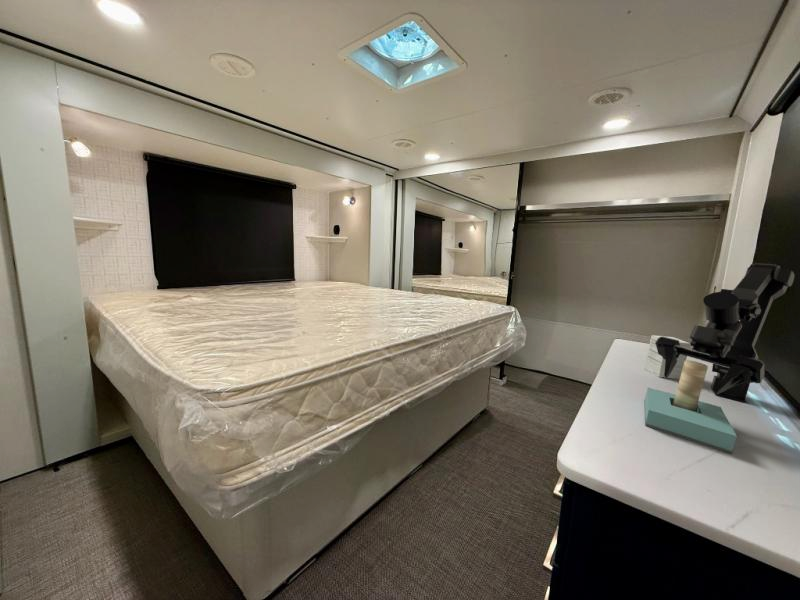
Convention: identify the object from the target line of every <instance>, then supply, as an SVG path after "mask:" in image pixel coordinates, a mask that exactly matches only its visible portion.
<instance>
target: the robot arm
mask: <svg viewBox="0 0 800 600" xmlns="http://www.w3.org/2000/svg"><path fill="white" fill-rule="evenodd" d="M794 280H795V273H794V271H793V270H790V269H787V268H785V267H781V266H780V265H777V264H773V263H760V262H759V263H757V262H755V263H751V264H750V265H749V266H748V267H747V270H746V272H745V275H744V276H743V277H742V279H741V280H740V281H739V283H738V284H737V285H736V286H735V287H734V289H727V288H725V289H724V288H721V290H720V291H715V292H712V293H709V294H707V295H706V296H704V297H703V300H702V301H703V308H704V314H705V319H706V320H707V321H708V322H707V323H706V325H705V326H704V325H703V326H702V325H696V324H695V325H694V326H693V328H692V330H691V333H690V335H689V338H690V339H691V341H690V342H689V343H690V346H691V347H692V348H690V347H689V348H686V347H682V346H680V344H679V340H675V339H671V338H667V337H668V336H667V337H660V338H658V339H657V341H656V342H655V344H656V347H657V351H658V354H659V355H661V356H662V357H663V359H665V372H664V376H665V377H666V379H668V378H667V377H668V376H669V375H670V373H671V372H672V370H673V368H674V366H675V365H676V363H677V359H676V358H678V357H679V356H680V354H681V355H685V356H687V357H689V358H692V359H695V360H700V361H702V362H706V363H710V364H712V367H711V368H712V370H711V372H713V373H716V375H714V376H713V378H712V382H711V385H710V389H711V390H712V392H713V394H714V395H715V396H718V397H723V398H726V399H731V400H735V401H737V402H742V403H748V400H747V399H746V398H747V394H748V392H749V387H750V385H751V384H753V383H754V384H762V381H763V379H764V377H765V366H766V365H765V363H764V361H763V360H761V359H759V356H758V354H757V350H756V349H755V346H756V343H757V341H758V339H759V335H760V333H761V330H762V328H763V326H764V323H765V321H766V318H767V316H768V314H769V311H770V309H771V306H772V303H773V301H774V300H776V299H777V298H779V297H782V296H783V295H785V293H786V292H787V289H788V287H792V285H793V283H794ZM706 320H705V321H706Z"/></svg>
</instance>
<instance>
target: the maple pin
mask: <svg viewBox="0 0 800 600" xmlns="http://www.w3.org/2000/svg"><path fill="white" fill-rule="evenodd" d="M708 367H709V366H708V365H706V364H704V363H702V362H699V361H694V360H686V361H684V365H683V369H682V373H681V377H680V379H679V380H678V381H679V382H678V385H677V387H676V388H677V389H676V391H675V395H676V396H675V400H674V403H673V406H676V407H680V408H683V409H687V410H690V411H694V412H695V411H696V408H697V404H698V401H700V397H701V394H702V393H701V392H702V389H703V387H704V382H705V378H706V374H707V371H708V369H709V368H708Z"/></svg>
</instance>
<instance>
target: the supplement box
mask: <svg viewBox="0 0 800 600" xmlns="http://www.w3.org/2000/svg"><path fill="white" fill-rule="evenodd" d="M650 337H651V338H650V341H649V346H648V349H647V354H646V357H645V363H644V367H643V368H644V370H645V369H646V370H645V371H647V370H648V371H647V372H649V371H650V372H651V373H650V372H649V373H650V374H652V373H653V374H652V375H654V374H655V375H654V376H656V375H657V376H658V378H663V377H664V379H665V378H666V377H665V376H664V372H665V359H663V357H662V356H661V355H659V354H658V351H657V347H656V344H655V342H656V341H657V339H658V338H660V337H667V338H671V339H675V340H679V344H680V346H682V347H686V348H690V346H691V344H690V342H687V341H684V340H682V339H679V338H676V337H673V336H664V335H655V334H654V335H653V334H652V335H651V336H650ZM687 357H688V356H685V355H681V354H680V356H679V357H678V358H676V359H677V363H676V365H675V366H674V368H673V370H672V372H671V373H670V375H669V376H668V377H667V378H666V379H675V380H680V377H681V373H682V369H683V365H684V361H687ZM657 376H656V377H657Z"/></svg>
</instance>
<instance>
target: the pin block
mask: <svg viewBox="0 0 800 600" xmlns="http://www.w3.org/2000/svg"><path fill="white" fill-rule="evenodd" d="M675 396H676V394H673V393H670V392H667V391H662V390H659V389H655V388H653V387H647V388H646V392H645V396H644V397H645V398H644V401H643V402H644V405H643V406H644V426H646V427H649V428H651V429H654V430H658V431H660V432H663V433H666V434H670V435H672V436H677V437H679V438H682V439H685V440H688V441H691V442H695V443H697V444H701V445H704V446H706V447H710V448H713V449H716V450H719V451H722V452H725V453H728V454H733V450H734V446H735V443H736V440H737V437H738V436H737V434H736V432H735V430H734V429H733V427H732V425H731V423H730V421H729V419H728V418H727V416H726V414H725V413H724V410H723V408H722V407H721V406H719V405H715V404H712V403H708V402H705V401H701V400H698V404H697V408H696V411H695V412H694V411H690V410H687V409H683V408H680V407H676V406H673V403H674V400H675Z"/></svg>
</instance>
